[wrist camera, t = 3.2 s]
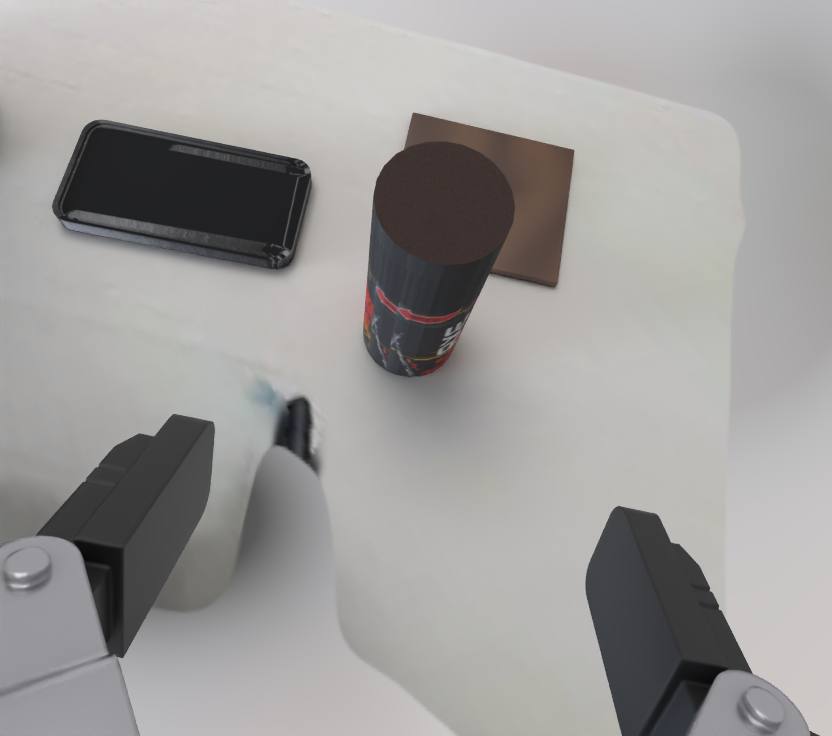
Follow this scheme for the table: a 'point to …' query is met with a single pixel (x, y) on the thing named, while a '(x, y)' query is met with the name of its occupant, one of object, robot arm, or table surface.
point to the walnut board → (517, 193)
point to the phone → (184, 194)
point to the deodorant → (431, 251)
